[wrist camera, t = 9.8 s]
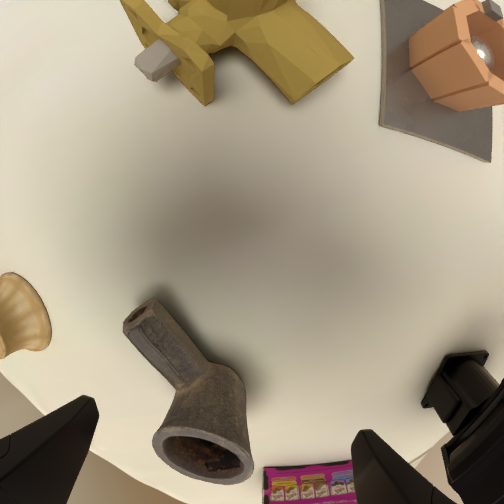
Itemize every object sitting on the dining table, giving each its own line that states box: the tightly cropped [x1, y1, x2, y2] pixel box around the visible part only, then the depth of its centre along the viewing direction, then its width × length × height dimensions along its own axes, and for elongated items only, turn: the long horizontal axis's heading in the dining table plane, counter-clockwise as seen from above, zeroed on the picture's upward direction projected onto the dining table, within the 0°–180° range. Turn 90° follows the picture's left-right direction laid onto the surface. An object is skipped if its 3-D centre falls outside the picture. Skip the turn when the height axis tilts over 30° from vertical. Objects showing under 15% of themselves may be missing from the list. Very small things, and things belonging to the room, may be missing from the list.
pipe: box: [123, 299, 254, 485], centre depth 18 cm, size 6×13×8 cm, turn 31°
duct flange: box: [379, 0, 494, 163], centre depth 12 cm, size 10×12×6 cm
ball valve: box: [120, 0, 354, 106], centre depth 11 cm, size 13×10×10 cm
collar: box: [409, 0, 504, 112], centre depth 11 cm, size 6×6×7 cm
